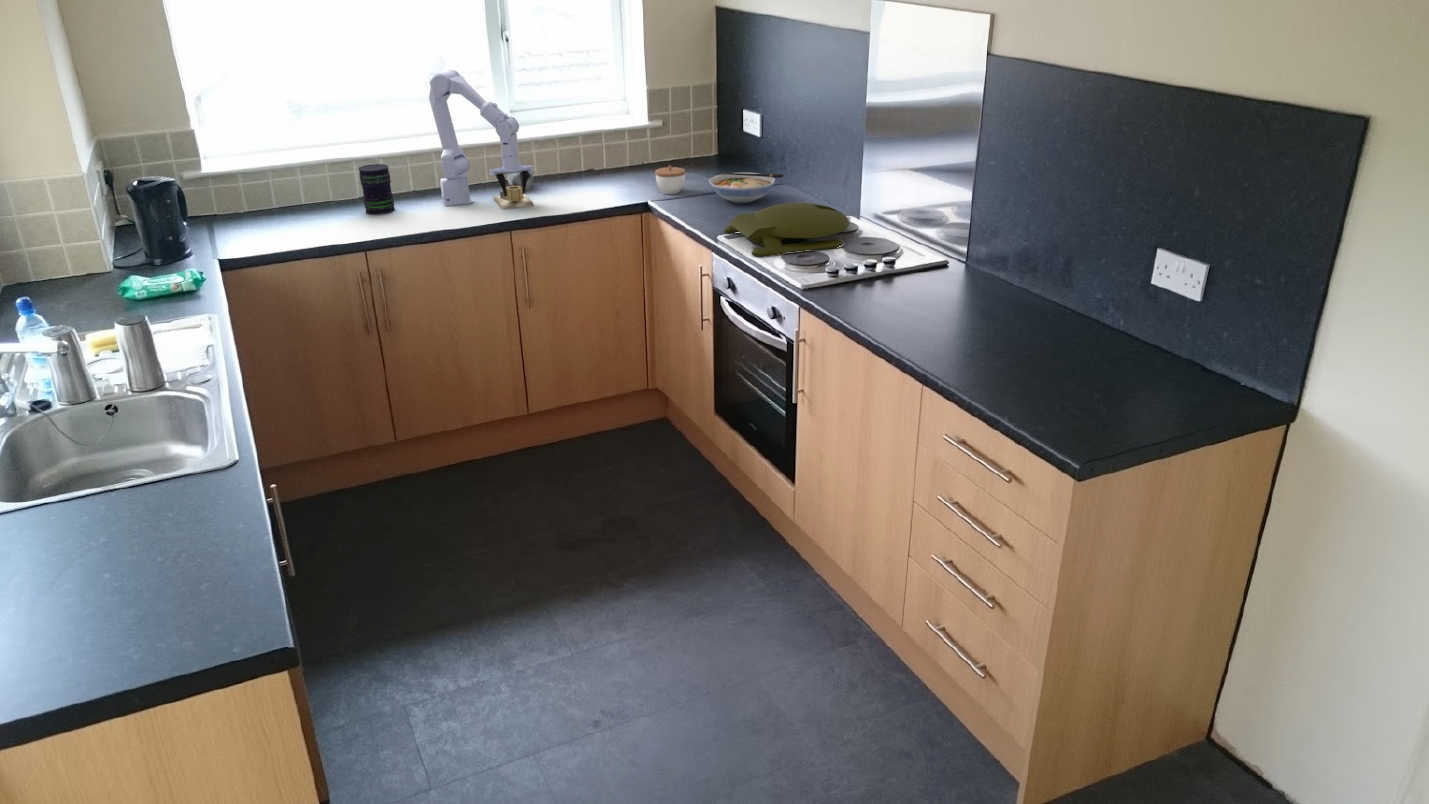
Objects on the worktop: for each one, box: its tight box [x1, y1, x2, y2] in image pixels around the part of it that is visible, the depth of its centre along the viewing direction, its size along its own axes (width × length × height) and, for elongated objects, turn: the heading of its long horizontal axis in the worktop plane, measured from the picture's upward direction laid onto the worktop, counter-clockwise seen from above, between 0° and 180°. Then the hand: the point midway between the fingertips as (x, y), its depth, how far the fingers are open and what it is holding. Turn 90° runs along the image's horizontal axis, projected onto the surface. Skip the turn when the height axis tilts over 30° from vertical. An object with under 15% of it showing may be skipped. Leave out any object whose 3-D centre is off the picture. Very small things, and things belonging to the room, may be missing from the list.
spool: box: [507, 164, 534, 192], centre depth 377 cm, size 14×10×10 cm
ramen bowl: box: [708, 172, 784, 205], centre depth 354 cm, size 25×23×8 cm
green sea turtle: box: [723, 202, 850, 258], centre depth 313 cm, size 35×31×10 cm
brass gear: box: [506, 185, 523, 201], centre depth 355 cm, size 6×6×4 cm
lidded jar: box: [654, 165, 686, 195], centre depth 368 cm, size 11×11×9 cm
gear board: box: [492, 188, 534, 210], centre depth 359 cm, size 11×14×4 cm
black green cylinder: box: [358, 163, 396, 216], centre depth 350 cm, size 10×10×15 cm
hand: (514, 194), depth 355 cm, fingers closed on brass gear, 6 cm apart
